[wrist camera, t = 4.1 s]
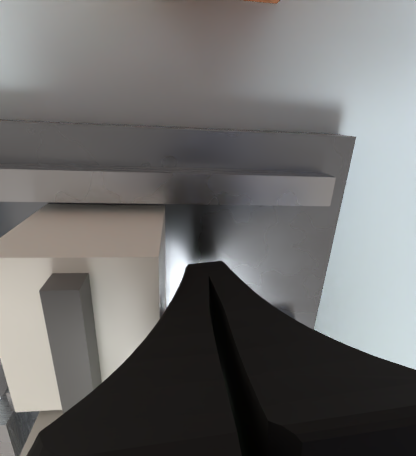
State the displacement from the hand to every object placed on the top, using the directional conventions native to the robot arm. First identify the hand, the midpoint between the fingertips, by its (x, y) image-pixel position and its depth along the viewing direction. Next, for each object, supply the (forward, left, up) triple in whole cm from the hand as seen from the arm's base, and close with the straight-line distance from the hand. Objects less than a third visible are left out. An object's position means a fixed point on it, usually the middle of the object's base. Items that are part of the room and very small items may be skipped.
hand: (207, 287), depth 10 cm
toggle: (+3, 0, -2) cm, 4 cm away
